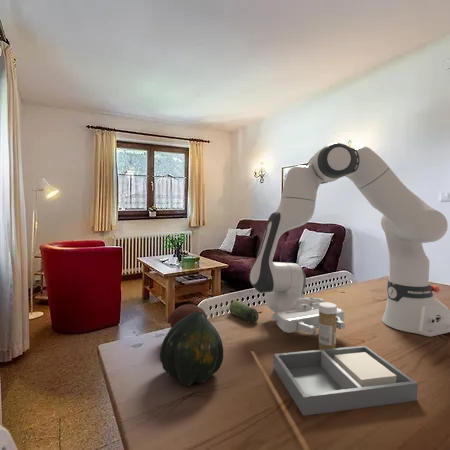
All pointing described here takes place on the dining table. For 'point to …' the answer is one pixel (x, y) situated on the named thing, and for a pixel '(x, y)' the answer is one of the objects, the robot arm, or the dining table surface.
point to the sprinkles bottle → (327, 325)
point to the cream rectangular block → (365, 369)
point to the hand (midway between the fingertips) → (328, 328)
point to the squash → (192, 350)
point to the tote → (337, 382)
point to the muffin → (183, 313)
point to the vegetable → (244, 311)
